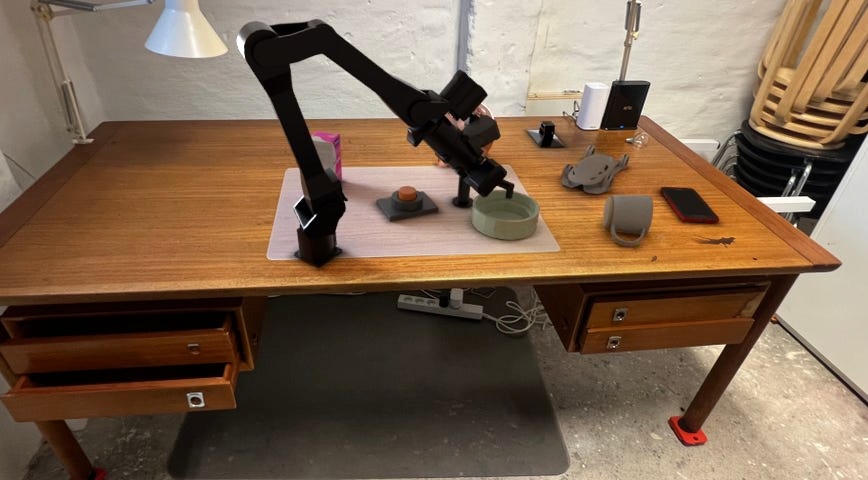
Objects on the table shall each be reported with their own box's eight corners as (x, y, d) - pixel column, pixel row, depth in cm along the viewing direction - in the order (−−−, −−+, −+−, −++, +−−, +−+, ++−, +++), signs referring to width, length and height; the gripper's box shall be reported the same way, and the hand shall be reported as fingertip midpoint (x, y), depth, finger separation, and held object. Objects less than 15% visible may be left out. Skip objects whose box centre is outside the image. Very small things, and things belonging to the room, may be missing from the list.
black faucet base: (466, 210, 108) (469, 182, 104) (447, 204, 110) (449, 176, 106) (477, 202, 111) (480, 174, 108) (458, 195, 113) (461, 168, 110)
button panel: (389, 221, 103) (389, 209, 102) (376, 204, 109) (376, 191, 108) (438, 212, 107) (439, 199, 105) (422, 195, 113) (423, 183, 111)
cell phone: (682, 222, 106) (683, 218, 106) (658, 190, 118) (659, 186, 118) (719, 224, 106) (721, 220, 105) (691, 191, 118) (693, 187, 117)
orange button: (402, 202, 105) (402, 195, 104) (396, 195, 107) (396, 187, 106) (418, 199, 106) (418, 192, 105) (411, 192, 109) (411, 184, 108)
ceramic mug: (599, 218, 107) (608, 185, 102) (639, 222, 106) (650, 189, 101) (605, 246, 98) (615, 211, 94) (649, 251, 97) (662, 216, 93)
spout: (454, 177, 107) (455, 162, 105) (464, 173, 109) (465, 158, 107) (506, 201, 99) (509, 185, 97) (516, 196, 101) (519, 180, 99)
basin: (519, 249, 96) (522, 229, 94) (459, 227, 102) (461, 208, 100) (546, 221, 105) (550, 201, 103) (489, 202, 111) (492, 184, 109)
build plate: (526, 131, 147) (529, 115, 145) (550, 131, 148) (553, 115, 145) (540, 147, 137) (543, 131, 134) (565, 147, 138) (569, 130, 135)
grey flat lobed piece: (629, 166, 129) (635, 147, 126) (599, 202, 113) (604, 182, 110) (587, 155, 134) (591, 137, 131) (551, 188, 118) (556, 168, 115)
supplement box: (335, 191, 113) (331, 142, 107) (310, 188, 114) (305, 140, 108) (343, 180, 118) (340, 133, 111) (319, 177, 119) (314, 130, 112)
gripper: (504, 122, 83) (548, 174, 93) (452, 89, 96) (495, 137, 106) (458, 173, 84) (506, 219, 95) (413, 134, 98) (459, 178, 108)
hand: (491, 185), depth 101 cm, fingers closed
